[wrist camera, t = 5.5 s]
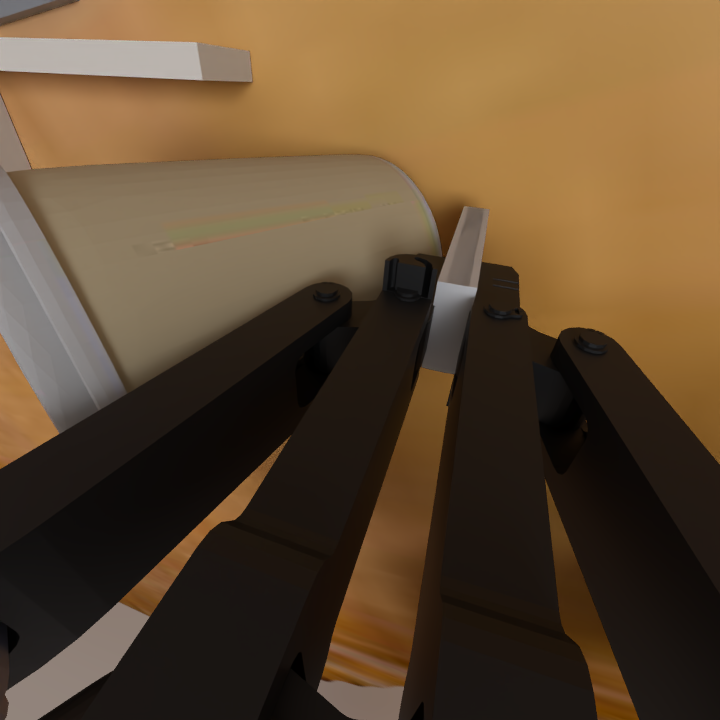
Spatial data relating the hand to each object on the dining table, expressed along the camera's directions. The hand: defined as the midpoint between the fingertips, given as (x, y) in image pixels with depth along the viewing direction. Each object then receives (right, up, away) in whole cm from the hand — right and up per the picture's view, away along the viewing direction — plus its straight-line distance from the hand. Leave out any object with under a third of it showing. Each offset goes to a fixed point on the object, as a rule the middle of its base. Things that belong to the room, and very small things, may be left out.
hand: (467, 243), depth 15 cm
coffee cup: (-4, 0, +2) cm, 4 cm away
